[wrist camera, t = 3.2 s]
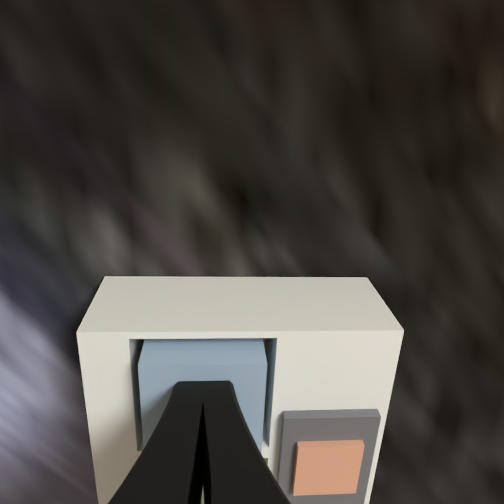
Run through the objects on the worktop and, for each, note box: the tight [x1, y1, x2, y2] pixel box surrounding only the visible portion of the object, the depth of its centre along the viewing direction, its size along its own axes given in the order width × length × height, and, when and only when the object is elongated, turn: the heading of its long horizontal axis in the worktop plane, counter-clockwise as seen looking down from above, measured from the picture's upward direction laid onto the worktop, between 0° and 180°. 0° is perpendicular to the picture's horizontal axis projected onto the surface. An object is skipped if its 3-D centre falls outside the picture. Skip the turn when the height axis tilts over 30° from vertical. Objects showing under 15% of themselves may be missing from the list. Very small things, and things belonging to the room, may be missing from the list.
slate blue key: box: [138, 338, 267, 452], centre depth 12 cm, size 3×3×2 cm
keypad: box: [76, 276, 404, 504], centre depth 14 cm, size 8×12×4 cm, turn 178°
